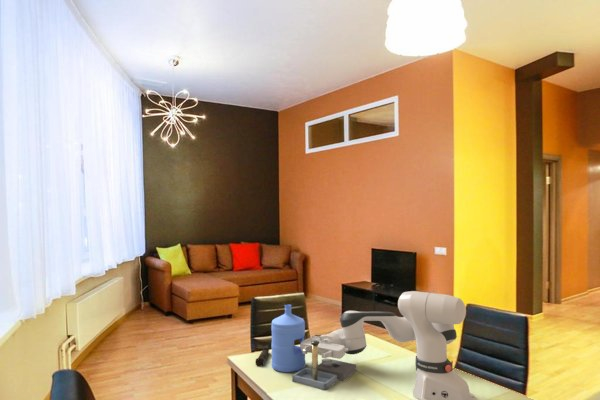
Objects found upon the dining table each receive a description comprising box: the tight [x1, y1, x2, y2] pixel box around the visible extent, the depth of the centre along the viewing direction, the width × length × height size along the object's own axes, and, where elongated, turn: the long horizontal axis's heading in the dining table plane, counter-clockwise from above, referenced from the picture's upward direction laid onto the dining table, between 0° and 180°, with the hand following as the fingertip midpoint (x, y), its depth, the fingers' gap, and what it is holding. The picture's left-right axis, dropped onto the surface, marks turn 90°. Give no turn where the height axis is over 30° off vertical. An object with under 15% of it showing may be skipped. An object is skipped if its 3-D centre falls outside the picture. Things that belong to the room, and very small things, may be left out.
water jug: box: [270, 304, 306, 373], centre depth 185 cm, size 16×16×28 cm
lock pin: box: [311, 340, 319, 381], centre depth 168 cm, size 3×3×16 cm
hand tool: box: [255, 344, 270, 367], centre depth 194 cm, size 19×4×5 cm, turn 171°
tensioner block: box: [318, 357, 357, 381], centre depth 177 cm, size 14×12×4 cm
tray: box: [291, 367, 338, 391], centre depth 168 cm, size 16×10×2 cm, turn 57°
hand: (313, 354), depth 167 cm, fingers open, 8 cm apart
